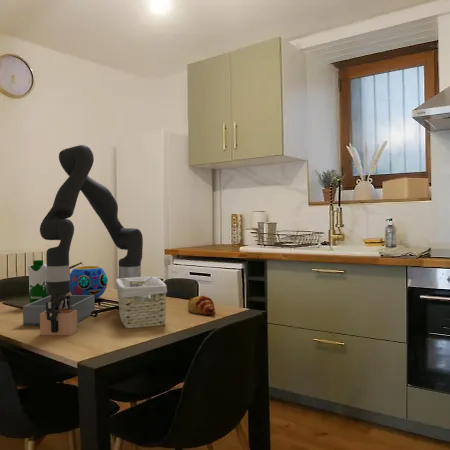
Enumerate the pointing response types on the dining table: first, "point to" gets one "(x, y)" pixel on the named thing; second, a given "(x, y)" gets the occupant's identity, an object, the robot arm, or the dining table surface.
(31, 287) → the milk carton
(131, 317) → the storage basket
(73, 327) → the small crate
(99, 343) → the dining table surface
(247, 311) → the dining table surface
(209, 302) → the croissant
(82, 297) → the big crate
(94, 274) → the ceramic pot
